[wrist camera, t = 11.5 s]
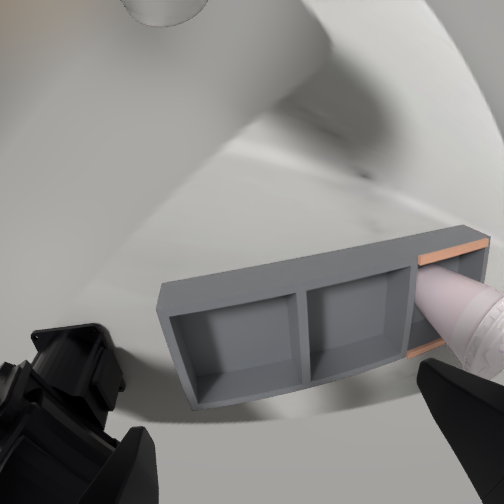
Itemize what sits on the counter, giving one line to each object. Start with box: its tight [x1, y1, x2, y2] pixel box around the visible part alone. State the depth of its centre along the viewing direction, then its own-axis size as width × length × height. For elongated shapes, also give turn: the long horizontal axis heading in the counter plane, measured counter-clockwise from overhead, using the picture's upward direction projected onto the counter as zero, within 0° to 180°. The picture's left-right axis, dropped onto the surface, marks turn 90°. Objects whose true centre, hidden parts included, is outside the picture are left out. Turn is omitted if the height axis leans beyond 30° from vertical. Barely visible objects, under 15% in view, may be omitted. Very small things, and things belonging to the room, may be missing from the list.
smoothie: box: [414, 263, 504, 380], centre depth 17 cm, size 6×6×14 cm
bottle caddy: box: [156, 225, 491, 411], centre depth 21 cm, size 25×9×4 cm, turn 98°
